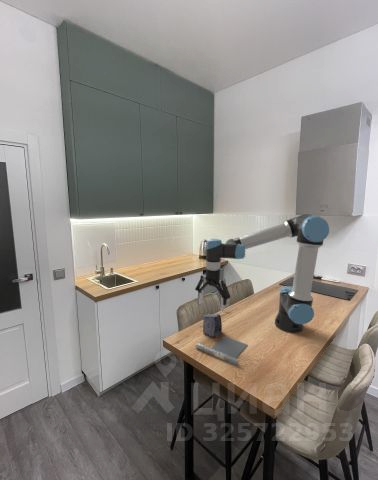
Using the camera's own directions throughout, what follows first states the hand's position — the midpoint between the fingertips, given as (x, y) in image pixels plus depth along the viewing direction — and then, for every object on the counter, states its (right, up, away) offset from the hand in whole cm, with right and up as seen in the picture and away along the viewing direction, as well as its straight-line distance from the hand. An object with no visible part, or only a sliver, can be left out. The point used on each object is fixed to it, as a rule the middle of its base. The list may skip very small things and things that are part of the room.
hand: (211, 306), depth 133 cm
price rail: (+1, -18, -17) cm, 25 cm away
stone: (0, -15, +3) cm, 15 cm away
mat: (+7, -17, -11) cm, 22 cm away
